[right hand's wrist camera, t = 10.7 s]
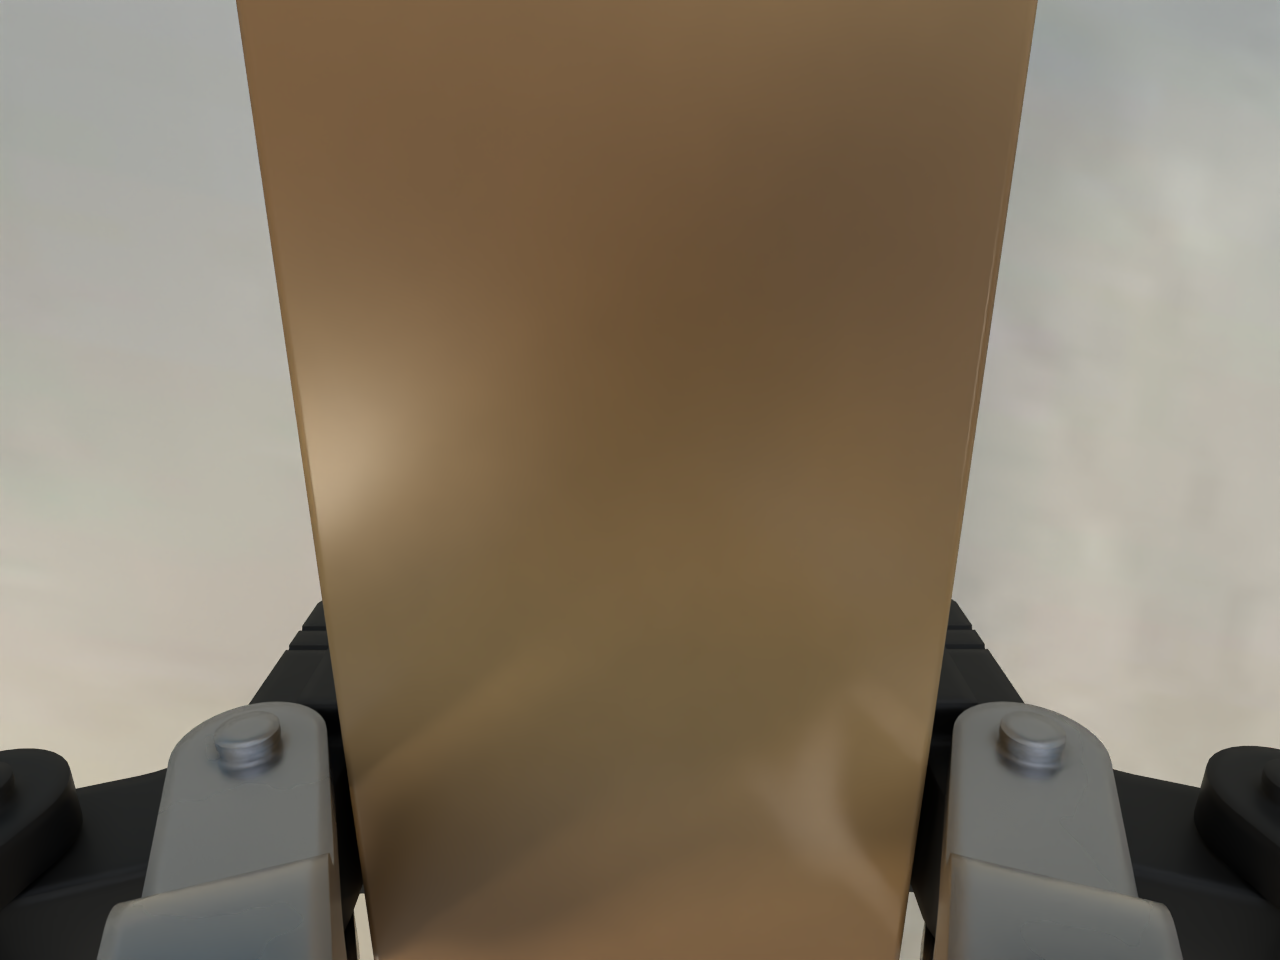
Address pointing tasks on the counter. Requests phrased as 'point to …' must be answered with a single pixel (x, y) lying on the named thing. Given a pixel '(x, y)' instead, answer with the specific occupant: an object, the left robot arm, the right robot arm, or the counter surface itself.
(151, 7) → the counter surface
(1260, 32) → the counter surface
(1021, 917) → the right robot arm
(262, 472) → the counter surface
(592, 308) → the beam
